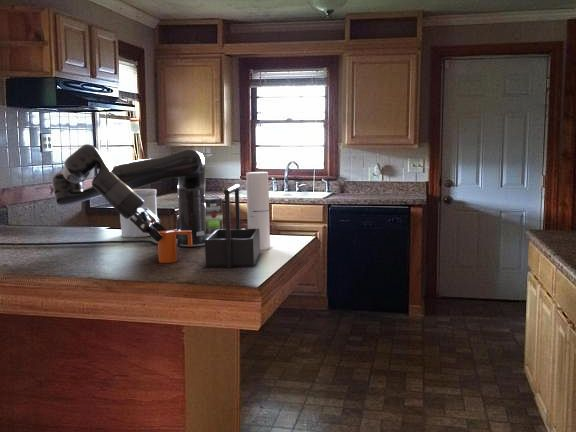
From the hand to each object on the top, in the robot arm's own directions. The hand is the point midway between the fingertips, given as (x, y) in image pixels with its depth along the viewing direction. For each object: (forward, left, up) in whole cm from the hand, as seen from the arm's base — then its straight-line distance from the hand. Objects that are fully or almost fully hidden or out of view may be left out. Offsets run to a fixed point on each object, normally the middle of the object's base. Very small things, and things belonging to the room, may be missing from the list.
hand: (163, 237), depth 190 cm
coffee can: (-15, +55, -7) cm, 58 cm away
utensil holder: (-42, +47, -7) cm, 64 cm away
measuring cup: (+3, +1, -7) cm, 8 cm away
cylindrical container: (+18, +29, -7) cm, 35 cm away
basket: (+20, +7, -7) cm, 22 cm away
